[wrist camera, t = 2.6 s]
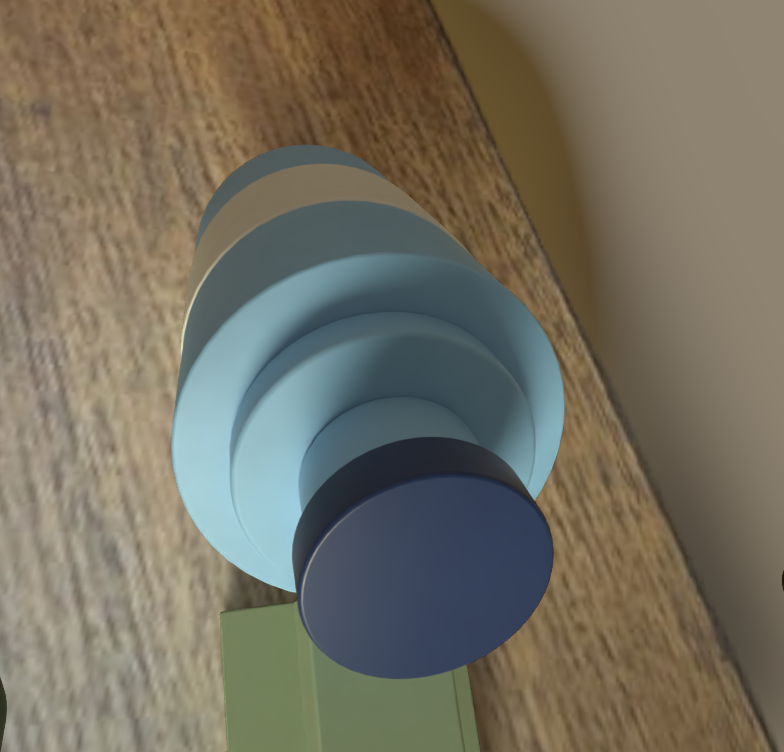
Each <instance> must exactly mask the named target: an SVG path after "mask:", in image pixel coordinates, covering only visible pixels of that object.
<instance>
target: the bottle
mask: <svg viewBox="0 0 784 752" xmlns="http://www.w3.org/2000/svg"><path fill="white" fill-rule="evenodd" d="M180 359H181V364H180V371H179V379H178V386H177V394H176V401H175V409H174V417H173V427H172V437H171V449H172V465H173V470H174V474H175V479H176V483H177V488H178V490H179V493H180V495H181V498H182V500H183V503H184V505H185V508H186V510H187V511H188V513H189V515H190V516H191V518H192V520H193V521H194V523H195V525H196V526H197V528H198V529H199V531H200V532H201V533H202V534H203V535H204V537H205V538H206V539H207V540H208V541H209V543H210V544H211V545H212V546H213V547H214V548H215V549H216V550H217V551H218V552H219V553H220V554H222V555H223V556H224V557H225V558H226V559H227V560H228V561H230V562H231V563H232V564H234V565H235V566H237V567H238V568H240V569H241V570H243V571H244V572H246V573H247V574H249V575H251V576H253V577H255V578H257V579H259V580H261V581H263V582H265V583H267V584H270V585H273V586H275V587H278V588H281V589H284V590H286V591H290V592H294V593H296V596H297V603H298V610H299V615H300V618H301V621H302V624H303V626H304V628H305V630H306V632H307V633H308V635H309V637H310V638H311V639H312V641H313V642H314V643H315V645H316V646H317V647H318V648H319V649H320V650H321V651H322V652H323V653H324V654H325V655H326V656H327V657H329V658H330V659H332V660H333V661H335V662H336V663H338V664H339V665H341V666H343V667H345V668H347V669H349V670H352V671H354V672H357V673H361V674H364V675H367V676H373V677H378V678H387V679H413V678H422V677H428V676H433V675H437V674H442V673H445V672H448V671H451V670H455V669H457V668H460V667H462V666H465V665H467V664H470V663H472V662H474V661H475V660H477V659H479V658H481V657H483V656H485V655H487V654H488V653H490V652H491V651H493V650H494V649H496V648H497V647H499V646H500V645H501V644H503V643H504V642H505V641H507V640H508V639H509V638H510V637H511V636H512V635H513V634H514V633H516V632H517V631H518V630H519V629H520V628H521V627H522V626H523V624H524V623H525V622H526V621H527V620H528V619H529V617H530V616H531V615H532V613H533V612H534V610H535V609H536V608H537V606H538V605H539V603H540V601H541V599H542V597H543V595H544V593H545V591H546V588H547V586H548V583H549V580H550V576H551V572H552V567H553V555H554V554H553V541H552V535H551V532H550V528H549V525H548V523H547V521H546V518H545V516H544V514H543V513H542V511H541V510H540V508H539V507H538V505H537V504H536V502H535V499H536V498H537V496H538V495H539V493H540V492H541V490H542V488H543V486H544V484H545V482H546V480H547V478H548V476H549V474H550V472H551V470H552V467H553V464H554V462H555V459H556V456H557V453H558V450H559V446H560V441H561V437H562V432H563V425H564V412H565V401H564V387H563V380H562V376H561V371H560V367H559V362H558V360H557V357H556V355H555V352H554V349H553V347H552V344H551V342H550V340H549V338H548V337H547V335H546V333H545V332H544V330H543V328H542V326H541V325H540V323H539V322H538V320H537V319H536V318H535V317H534V315H533V314H532V313H531V312H530V310H529V309H528V308H527V307H526V306H525V304H523V303H522V302H521V301H520V300H519V299H518V298H517V297H516V296H515V295H514V294H512V293H511V292H510V291H509V290H508V289H507V288H506V287H505V286H504V285H503V284H502V283H500V282H499V281H498V280H497V279H496V278H495V277H494V276H493V275H492V274H491V273H489V272H488V271H487V270H486V269H485V268H484V267H483V266H482V265H481V264H480V263H478V262H477V261H476V260H475V259H474V258H473V257H472V256H471V254H470V253H469V252H468V251H467V249H466V248H465V247H464V246H463V245H462V243H461V242H460V241H458V240H457V239H456V238H455V237H454V236H453V235H452V234H451V233H450V232H449V231H447V230H446V229H445V228H444V227H443V226H442V225H441V224H440V223H439V222H437V221H436V220H435V219H434V218H433V217H432V216H431V215H430V214H428V213H427V212H426V211H425V210H424V209H423V208H422V207H421V206H420V205H418V204H417V203H416V202H415V201H414V200H413V199H412V198H411V197H409V196H408V195H407V194H406V193H405V192H404V191H403V190H401V189H400V188H398V187H397V186H395V185H394V184H392V183H391V182H390V181H389V180H387V179H386V178H385V177H384V176H383V175H382V174H381V173H380V172H379V171H378V170H376V169H375V168H374V167H372V166H371V165H370V164H368V163H367V162H365V161H364V160H362V159H360V158H358V157H356V156H354V155H352V154H350V153H347V152H344V151H341V150H338V149H335V148H330V147H325V146H318V145H296V146H288V147H283V148H278V149H274V150H272V151H269V152H266V153H263V154H261V155H259V156H257V157H255V158H253V159H251V160H249V161H248V162H246V163H245V164H243V165H242V166H240V167H239V168H238V169H236V170H235V171H234V172H233V173H232V174H231V175H230V176H229V177H228V178H227V179H226V180H224V181H223V183H222V184H221V185H220V187H219V188H218V189H217V190H216V192H215V193H214V195H213V196H212V198H211V200H210V201H209V203H208V205H207V207H206V209H205V212H204V214H203V217H202V219H201V223H200V227H199V231H198V235H197V242H196V250H195V254H194V258H193V262H192V266H191V270H190V277H189V284H188V291H187V298H186V305H185V312H184V319H183V326H182V335H181V345H180Z"/></svg>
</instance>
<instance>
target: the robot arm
mask: <svg viewBox="0 0 784 752" xmlns="http://www.w3.org/2000/svg"><path fill="white" fill-rule="evenodd" d="M782 586H783V590H784V571H783V575H782ZM6 714H7V701H6V694H5V691H4V688H3V684H2V681H1V678H0V752H1V746H2V740H3V734H4V729H5V723H6Z"/></svg>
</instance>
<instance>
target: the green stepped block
mask: <svg viewBox="0 0 784 752" xmlns="http://www.w3.org/2000/svg"><path fill="white" fill-rule="evenodd" d="M220 628H221V646H222V664H223V682H224V699H225V717H226V735H227V752H481V750H480V743H479V737H478V730H477V724H476V718H475V711H474V705H473V699H472V692H471V686H470V680H469V673H468V667H467V665H465V666H462V667H460V668H457V669H455V670H451V671H448V672H445V673H442V674H437V675H433V676H428V677H422V678H413V679H387V678H378V677H373V676H367V675H364V674H361V673H357V672H354V671H352V670H349V669H347V668H345V667H343V666H341V665H339V664H338V663H336V662H335V661H333V660H332V659H330V658H329V657H327V656H326V655H325V654H324V653H323V652H322V651H321V650H320V649H319V648H318V647H317V646H316V645H315V643H314V642H313V641H312V639H311V638H310V637H309V635H308V633H307V632H306V630H305V628H304V626H303V624H302V621H301V618H300V615H299V610H298V603H297V600H296V601H295V602H289V603H282V604H274V605H267V606H260V607H253V608H245V609H238V610H231V611H224V612H221V613H220Z"/></svg>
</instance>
